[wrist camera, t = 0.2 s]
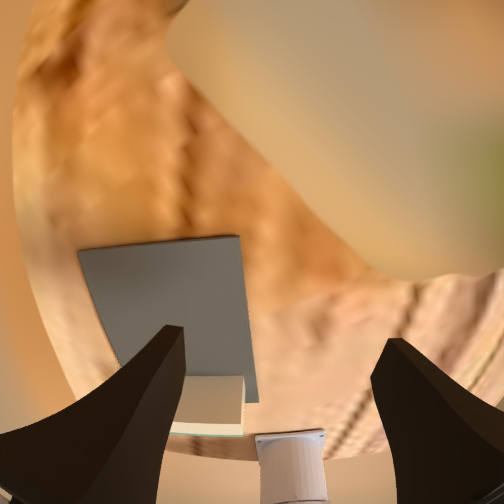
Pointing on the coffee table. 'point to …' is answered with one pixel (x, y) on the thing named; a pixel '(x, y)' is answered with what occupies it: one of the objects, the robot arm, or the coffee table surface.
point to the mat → (176, 302)
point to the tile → (211, 407)
